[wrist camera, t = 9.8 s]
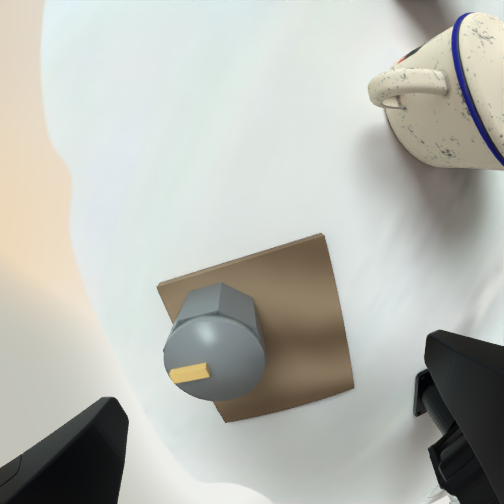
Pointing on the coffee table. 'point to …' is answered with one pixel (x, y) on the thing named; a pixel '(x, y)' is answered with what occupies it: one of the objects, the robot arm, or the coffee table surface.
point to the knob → (216, 344)
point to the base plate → (283, 324)
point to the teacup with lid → (450, 96)
